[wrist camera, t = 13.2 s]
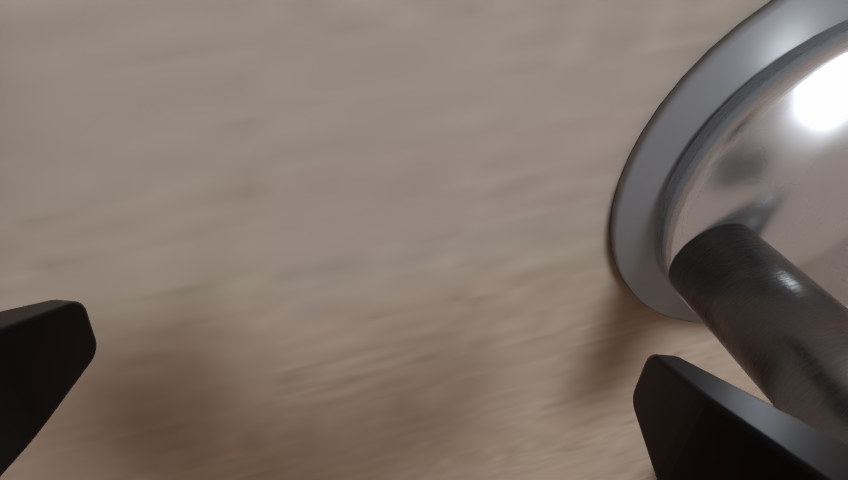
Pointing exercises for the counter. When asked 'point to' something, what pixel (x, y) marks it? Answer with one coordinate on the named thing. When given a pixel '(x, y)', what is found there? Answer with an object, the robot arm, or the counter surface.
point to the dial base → (685, 119)
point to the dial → (772, 230)
